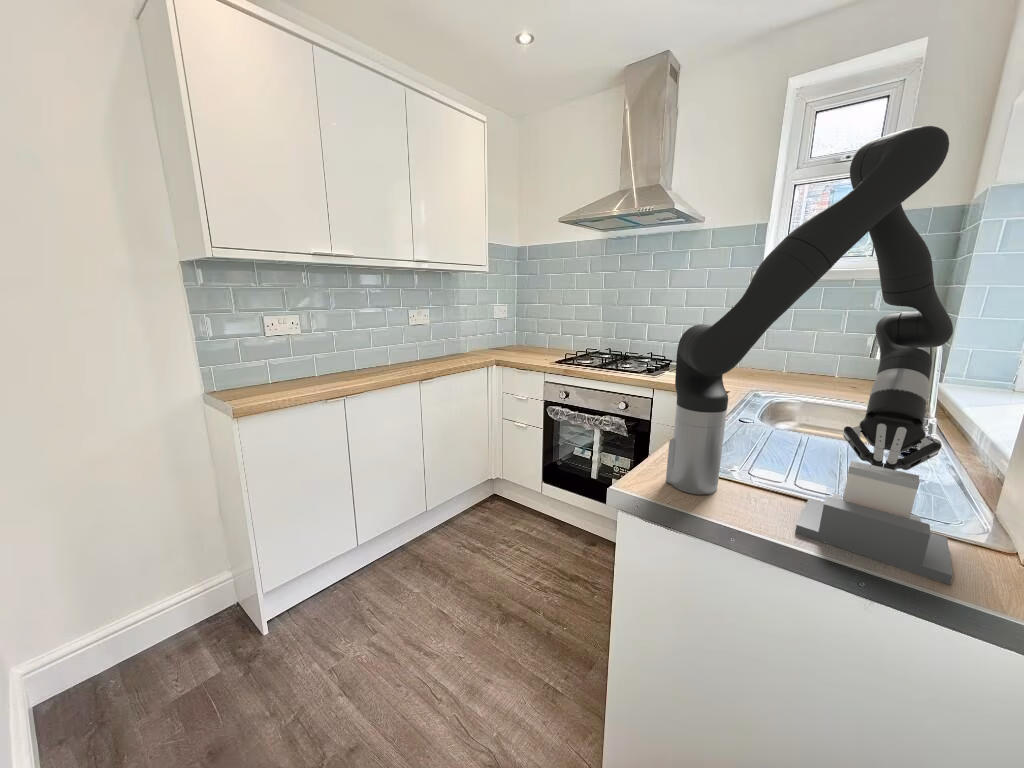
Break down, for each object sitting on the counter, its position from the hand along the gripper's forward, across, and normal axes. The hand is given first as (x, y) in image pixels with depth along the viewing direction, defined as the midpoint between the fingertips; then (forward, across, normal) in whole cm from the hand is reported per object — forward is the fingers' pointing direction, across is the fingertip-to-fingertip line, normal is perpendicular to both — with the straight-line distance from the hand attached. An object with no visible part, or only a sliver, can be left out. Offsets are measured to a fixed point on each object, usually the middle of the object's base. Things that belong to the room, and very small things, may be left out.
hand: (879, 485), depth 67 cm
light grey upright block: (+7, 0, +2) cm, 7 cm away
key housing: (+9, 0, +3) cm, 9 cm away
